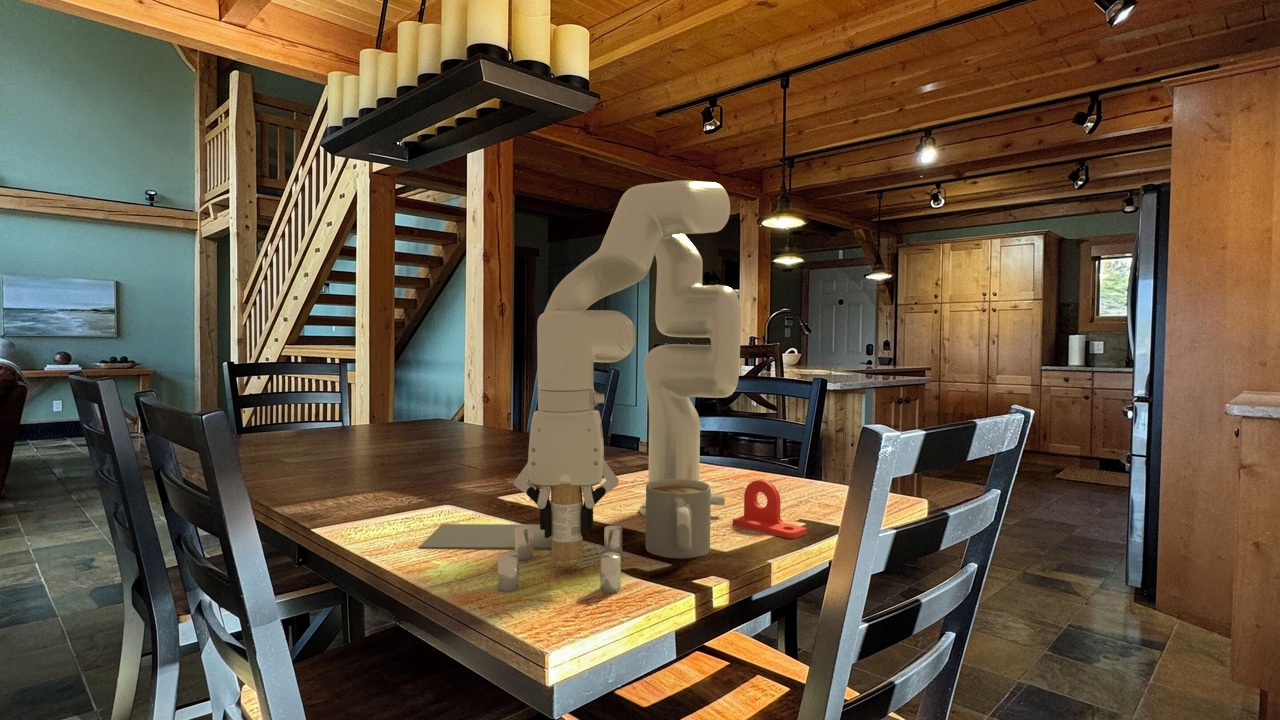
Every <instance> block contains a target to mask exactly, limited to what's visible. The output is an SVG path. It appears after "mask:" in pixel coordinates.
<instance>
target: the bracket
mask: <svg viewBox="0 0 1280 720" xmlns="http://www.w3.org/2000/svg"><path fill="white" fill-rule="evenodd" d="M759 493H762V494H764V495H765V498H766V505H765V506H762V505H761V504H760V503H759V501H758V495H759ZM743 497H744V498H743V515H741V516H739V517H734V518H732V525H733V526H737V527H739V528H745V529H748V530H752V529H753V530H752V531H756V530H757V531H756V532H760V533H763V534H769V535H771V536H777V537H781V538H785V539H790V540H791V539H793V540H794V539H798V538H801V537H803V536H805V535H808V528H807V527H804V526H801V525H795V524H790V523H787V522H784V521H783V520H782V518H781V496H780V494H779V490H778V489H777V488H776V486H775V485H774V484H773V483H771V482H770V481H768V480H766V479H758V480H754V481H752V482H750V483H749V484H748V485H747V486H746V488H745V490H744V495H743Z"/></svg>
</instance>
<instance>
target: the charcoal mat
mask: <svg viewBox="0 0 1280 720" xmlns="http://www.w3.org/2000/svg"><path fill="white" fill-rule="evenodd" d="M520 525H527V524H525V523H524V524H521V523H520V524H518V523H517V524H505V523H503V524H502V523H501V524H497V523H494V524H492V523H489V524H488V523H487V524H485V523H484V524H483V523H481V524H480V523H442V524H440V525H439V527H438V528H437V529H436V530H434V531H433V533H431V535H430V536H428V537H427V538H426V539H425V540H424V541H423V542H422V544H420V545H419V548H418V549H431V550H432V549H439V550H441V549H442V550H447V549H450V550H514V551H515V527H516V526H520ZM529 525H530V526H533V551H536V550H537V551H552V539H551V536H550V537H549V538H545V530H540V524H529Z"/></svg>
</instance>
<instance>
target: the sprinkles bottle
mask: <svg viewBox="0 0 1280 720" xmlns="http://www.w3.org/2000/svg"><path fill="white" fill-rule="evenodd" d="M570 481H571V479H570V478H569V476H568V475H567V474H563V475H562V476H561V477H560V479H559V482H570ZM550 503H551V539H552V550H551V556H550V560H551V563H553V564H555V565H556V566H561V567H563V566H564V567H570V566H575V565H578V564H580V563H582V562H583V561H584V558H585V556H584V554H583V553H584V552H583V550H584V549H583V537H582V508H583V504H584V499H583V493H582V489H581V487H575V486H572V485H571V484H569V483H568V484H562V483H561V484H559V486H555V487H551V491H550Z"/></svg>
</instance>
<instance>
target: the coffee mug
mask: <svg viewBox="0 0 1280 720" xmlns="http://www.w3.org/2000/svg"><path fill="white" fill-rule="evenodd" d="M645 485H646V487H645V503H646V517H645V550H646V551H647V552H648V553H650V554H652V555H655V556H657V555H658V557H662V558H667V559H668V558H669V559H693V558H700V557H702V556H705V555H707V554H709V552H710V551H711V507H712V506H711V493H712V492H711V490H712V489H711V488H712V487H711V485H710V484H709V483H707V482H705V481H700V480H699V481H696V480H689V479H662V480H656V481H652V482H649V481H648V482H647V484H645Z"/></svg>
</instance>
